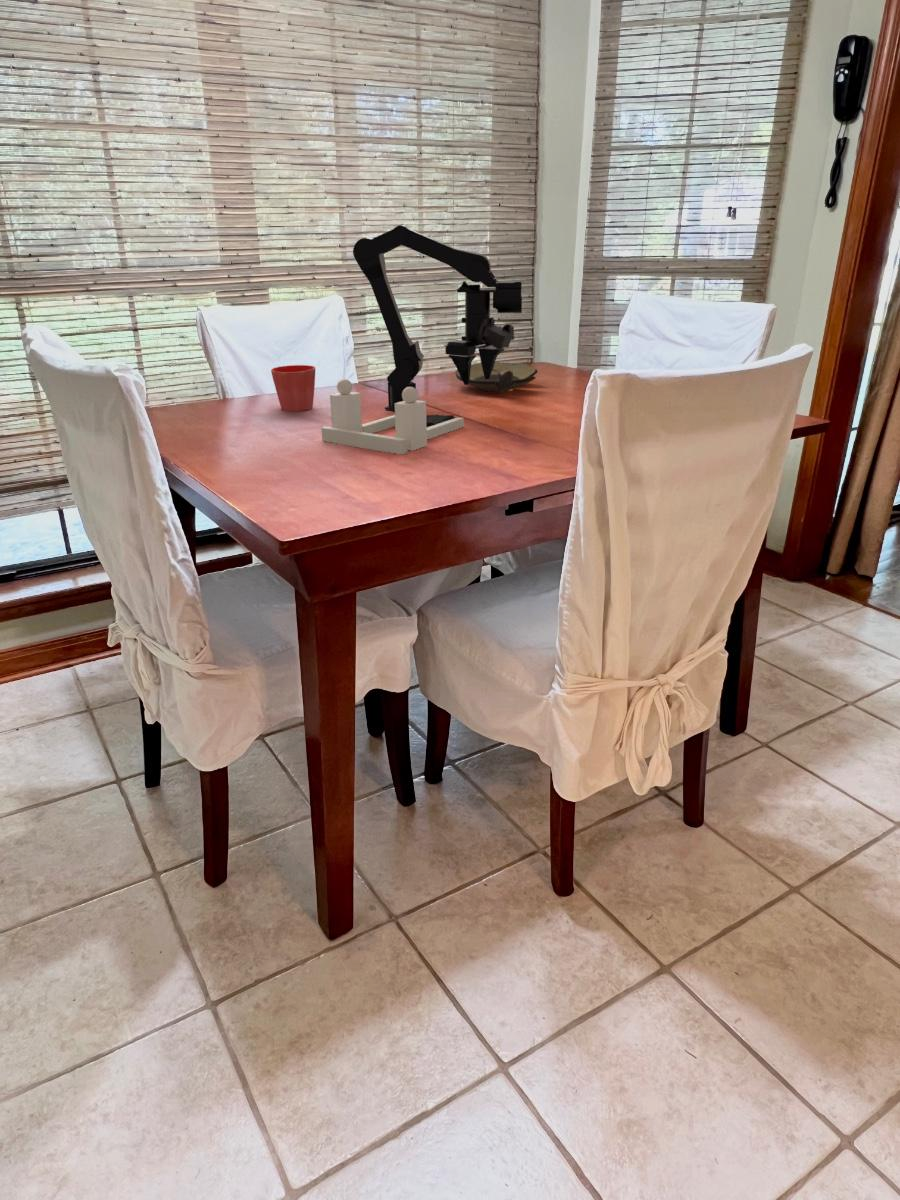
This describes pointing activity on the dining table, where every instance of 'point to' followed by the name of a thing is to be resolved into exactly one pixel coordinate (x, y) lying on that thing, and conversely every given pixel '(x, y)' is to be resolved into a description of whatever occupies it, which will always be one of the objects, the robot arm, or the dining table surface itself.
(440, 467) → the dining table surface
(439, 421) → the wood
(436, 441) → the dining table surface
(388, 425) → the twin knob post frame
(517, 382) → the oil lamp
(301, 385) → the flower pot
